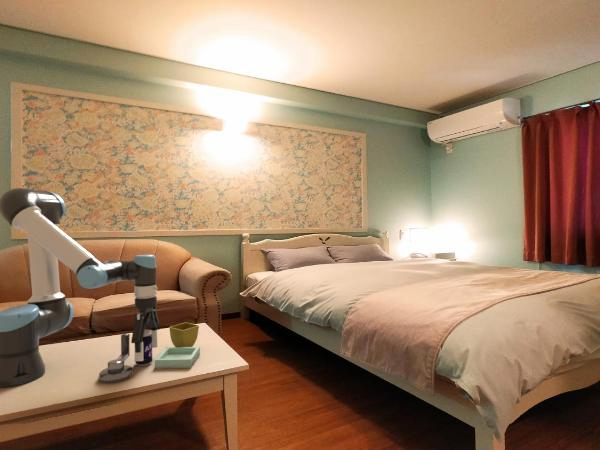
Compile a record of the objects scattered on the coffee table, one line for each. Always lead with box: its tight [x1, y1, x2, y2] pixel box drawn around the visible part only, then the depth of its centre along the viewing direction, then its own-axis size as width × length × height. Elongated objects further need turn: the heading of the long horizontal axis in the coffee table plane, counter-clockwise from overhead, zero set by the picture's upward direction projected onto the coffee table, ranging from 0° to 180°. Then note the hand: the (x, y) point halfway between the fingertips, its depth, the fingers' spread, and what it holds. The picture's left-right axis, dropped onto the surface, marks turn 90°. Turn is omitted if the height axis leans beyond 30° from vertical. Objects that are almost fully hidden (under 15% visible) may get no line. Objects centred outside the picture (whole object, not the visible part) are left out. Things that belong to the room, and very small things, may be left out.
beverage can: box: [135, 329, 153, 367], centre depth 130 cm, size 6×6×12 cm
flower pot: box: [169, 322, 200, 347], centre depth 147 cm, size 9×9×9 cm
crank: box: [107, 332, 131, 374], centre depth 124 cm, size 15×5×9 cm, turn 12°
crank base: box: [98, 364, 133, 385], centre depth 119 cm, size 10×10×2 cm
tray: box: [154, 346, 201, 369], centre depth 132 cm, size 13×13×3 cm
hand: (146, 353), depth 130 cm, fingers open, 13 cm apart
